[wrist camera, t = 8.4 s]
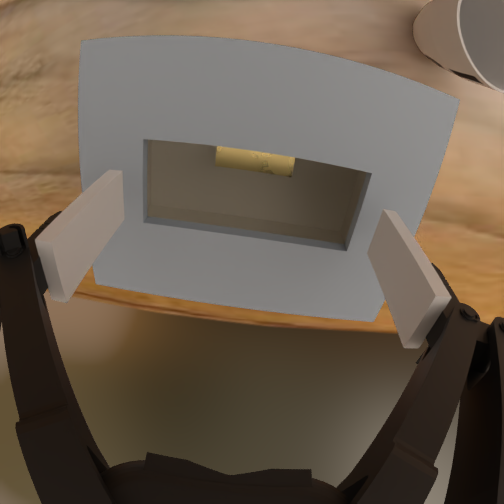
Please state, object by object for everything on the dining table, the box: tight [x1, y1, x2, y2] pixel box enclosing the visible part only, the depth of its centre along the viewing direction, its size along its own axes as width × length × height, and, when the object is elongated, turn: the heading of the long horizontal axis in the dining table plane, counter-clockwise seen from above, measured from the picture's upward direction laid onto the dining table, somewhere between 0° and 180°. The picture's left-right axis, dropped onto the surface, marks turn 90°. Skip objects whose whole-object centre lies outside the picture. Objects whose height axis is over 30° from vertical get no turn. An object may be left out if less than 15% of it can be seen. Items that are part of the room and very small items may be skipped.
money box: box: [78, 35, 460, 322], centre depth 22 cm, size 16×20×12 cm
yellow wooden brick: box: [215, 146, 295, 177], centre depth 25 cm, size 3×6×3 cm, turn 82°
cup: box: [413, 0, 504, 93], centre depth 16 cm, size 8×8×10 cm
